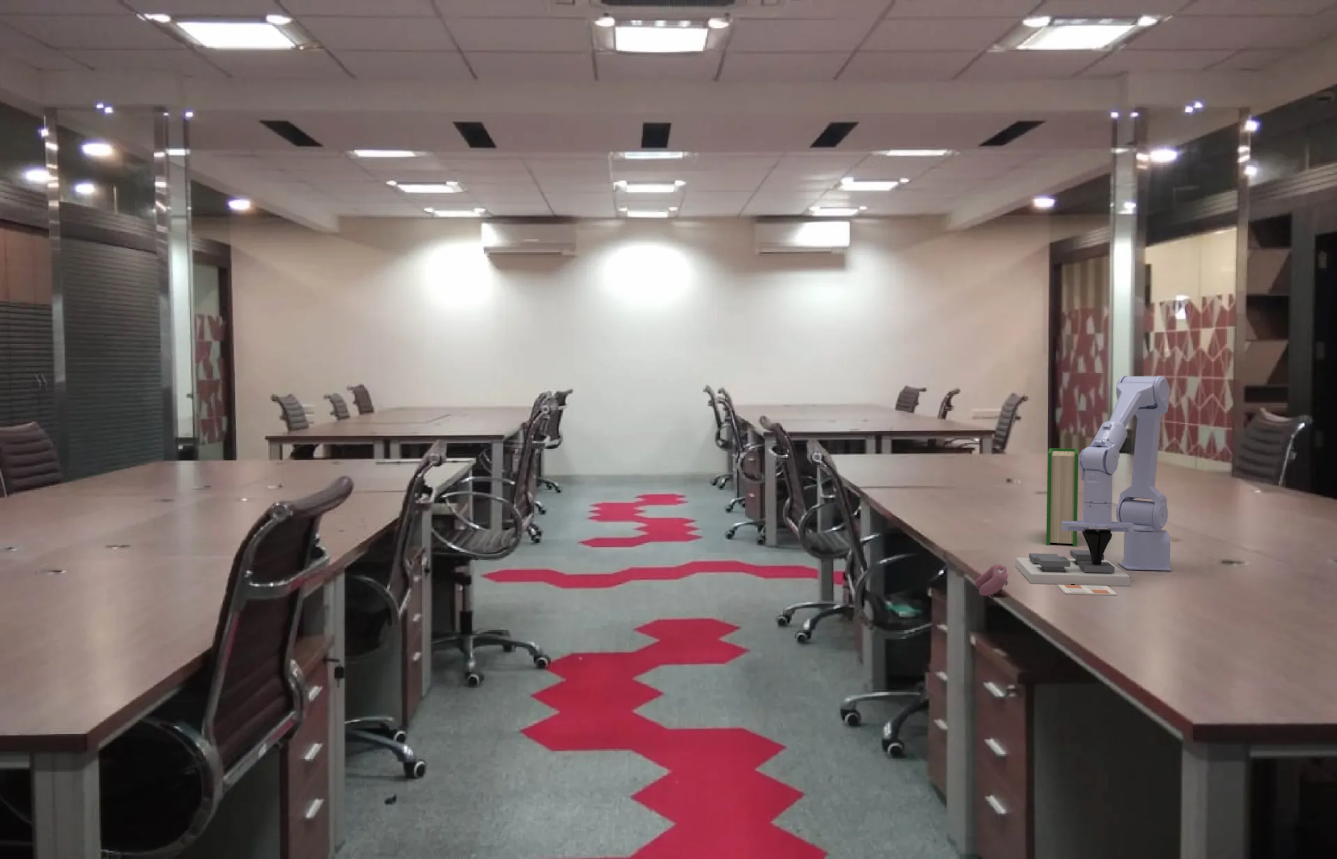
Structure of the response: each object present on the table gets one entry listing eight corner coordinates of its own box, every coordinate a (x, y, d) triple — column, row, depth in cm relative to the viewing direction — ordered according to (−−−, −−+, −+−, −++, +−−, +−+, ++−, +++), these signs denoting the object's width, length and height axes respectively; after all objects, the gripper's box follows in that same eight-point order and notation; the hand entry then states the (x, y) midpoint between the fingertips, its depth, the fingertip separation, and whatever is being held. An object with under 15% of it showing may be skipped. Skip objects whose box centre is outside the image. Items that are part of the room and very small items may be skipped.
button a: (1097, 563, 241) (1097, 550, 241) (1103, 568, 235) (1104, 555, 235) (1069, 563, 242) (1070, 549, 242) (1075, 568, 236) (1075, 554, 236)
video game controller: (998, 605, 213) (1014, 575, 212) (977, 594, 214) (993, 564, 213) (992, 594, 223) (1008, 566, 222) (972, 584, 223) (988, 555, 222)
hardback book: (1076, 546, 272) (1078, 453, 271) (1046, 545, 275) (1047, 453, 273) (1076, 536, 289) (1078, 448, 287) (1047, 535, 291) (1049, 448, 290)
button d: (1064, 570, 233) (1064, 556, 233) (1070, 575, 227) (1070, 561, 227) (1036, 569, 234) (1036, 555, 234) (1041, 574, 228) (1041, 560, 228)
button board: (1106, 568, 243) (1106, 559, 243) (1129, 586, 223) (1129, 576, 223) (1015, 566, 246) (1015, 557, 246) (1031, 583, 226) (1031, 574, 226)
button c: (1107, 576, 232) (1107, 562, 232) (1114, 581, 226) (1114, 567, 226) (1078, 575, 233) (1078, 561, 233) (1084, 580, 227) (1085, 566, 227)
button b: (1056, 567, 242) (1056, 553, 242) (1061, 572, 236) (1061, 558, 236) (1028, 566, 243) (1029, 553, 243) (1033, 571, 237) (1033, 557, 237)
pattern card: (1107, 587, 222) (1107, 585, 222) (1117, 595, 214) (1117, 593, 214) (1057, 586, 224) (1057, 584, 224) (1065, 594, 216) (1065, 592, 216)
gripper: (1066, 504, 226) (1065, 567, 226) (1138, 505, 223) (1136, 568, 224) (1059, 499, 233) (1058, 561, 233) (1129, 501, 230) (1127, 562, 231)
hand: (1096, 564), depth 229 cm, fingers closed, pressing on button c
